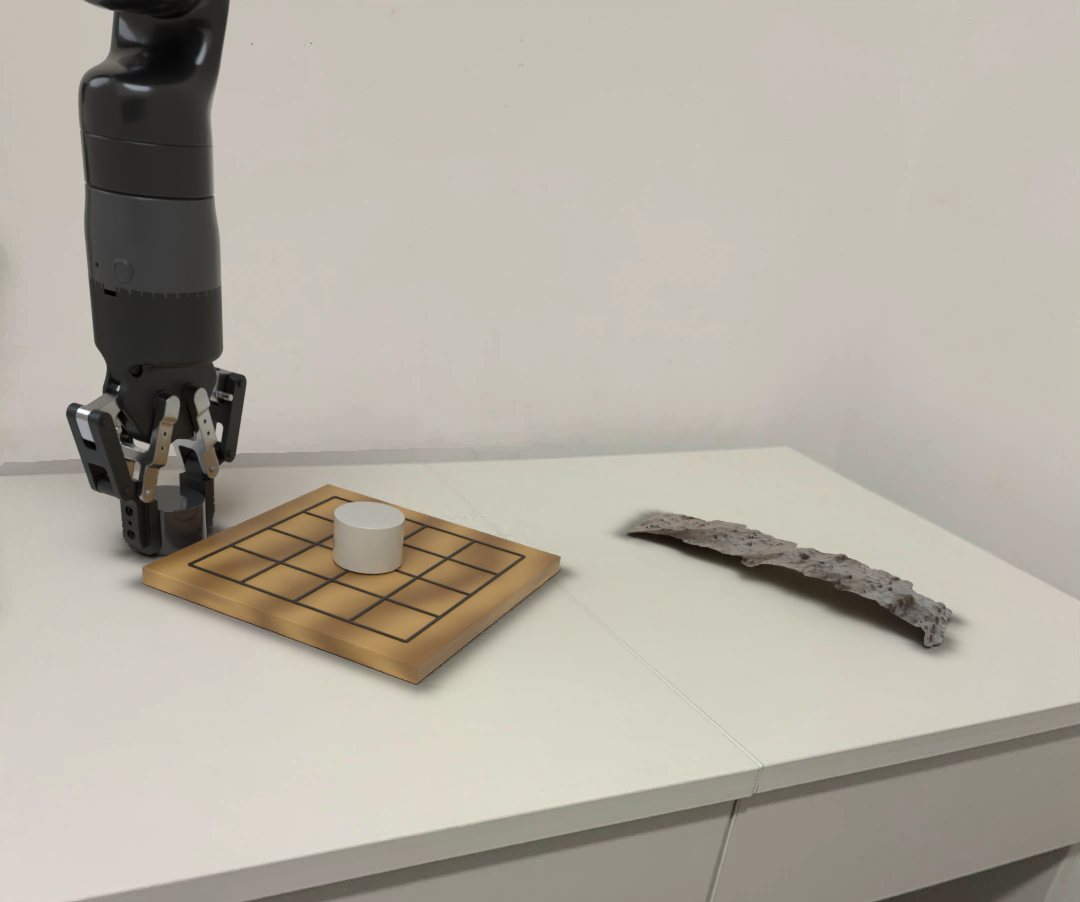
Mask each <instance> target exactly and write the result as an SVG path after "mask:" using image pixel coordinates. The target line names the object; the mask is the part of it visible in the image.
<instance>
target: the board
mask: <svg viewBox="0 0 1080 902" xmlns="http://www.w3.org/2000/svg"><path fill="white" fill-rule="evenodd" d="M351 502H376V503H382V504H386V505H389V506H392V507H394V508H396V509H398V510H400V511H401V512H402V513H403V514H404V516H405V527H404V542H403V557H402V564H401V566H400V567H399V568H397V569H395V570H393V571H391V572H387V573H380V574H365V573H358V572H353V571H349V570H347V569H344V568H342V567H340V566H339V565H337V564H336V563H335V561H334V560H333V532H334V511H335V509H336V508H337V507H339V506H341V505H343V504H346V503H351ZM561 558H562V557H561V555H558V554H554V553H551V552H547V551H544V550H541V549H538V548H534V547H532V546H529V545H525V544H522V543H519V542H516V541H512V540H509V539H506V538H502V537H499V536H496V535H493V534H490V533H487V532H483V531H480V530H477V529H474V528H471V527H467V526H464V525H461V524H458V523H456V522H455V523H454V522H452V521H448V520H446V519H442V518H438V517H435V516H433V515H429V514H426V513H423V512H420V511H416V510H414V509H410V508H406V507H403V506H400V505H397V504H394V503H390V502H387V501H384V500H381V499H378V498H375V497H371V496H368V495H365V494H362V493H359V492H355V491H353V490H349V489H346V488H342V487H339V486H337V485H333V484H329V483H327V484H325V485H323V486H321V487H318V488H316V489H314V490H311V491H310V492H307V493H305V494H303V495H300V496H298V497H296V498H293V499H291V500H289V501H287V502H284V503H282V504H280V505H278V506H276V507H273V508H270V509H268V510H267V511H264V512H261V513H260V514H258V515H255V516H253V517H251V518H248V519H247V520H244V521H241V522H240V523H237V524H235V525H233V526H231V527H228V528H226V529H223V530H222V531H219V532H217V533H215V534H213V535H211V536H207V538H206V539H204V540H201V541H199V542H197V543H195V544H192V545H190V546H188V547H186V548H183V549H181V550H179V551H177V552H174V553H172V554H170V555H168V556H167V555H164V556H163V557H161V558H159V559H157V560H155V561H152V562H150V563H147V564H145V565H142V566H141V570H142V583H143V584H144V585H146V586H149V587H151V588H154V589H157V590H160V591H162V592H165V593H168V594H170V595H173V596H175V597H179V598H181V599H184V600H186V601H190V602H192V603H195V604H198V605H200V606H203V607H206V608H208V609H211V610H214V611H216V612H219V613H222V614H224V615H227V616H230V617H232V618H235V619H239V620H241V621H244V622H246V623H249V624H252V625H255V626H257V627H260V628H263V629H266V630H268V631H271V632H272V633H276V634H279V635H282V636H285V637H287V638H290V639H292V640H295V641H298V642H300V643H303V644H307V645H309V646H311V647H315V648H316V649H320V650H322V651H324V652H328V653H331V654H333V655H336V656H339V657H342V658H344V659H347V660H349V661H352V662H355V663H358V664H359V665H360V664H361V665H363V666H366V667H369V668H371V669H374V670H376V671H380V672H382V673H385V674H388V675H391V676H393V677H395V678H399V679H401V680H403V681H405V682H409V683H412V684H415V685H417V684H419V683H420V682H421V681H422V680H423V679H425V678H426V677H428V675H430V674H431V673H432V672H434V670H436V669H437V668H438V667H440V666H441V665H442V664H444V663H445V662H446V661H448V659H450V658H451V657H453V656H454V655H455V654H456V653H458V651H460V650H462V649H463V648H464V647H465V646H466V645H468V644H469V643H470V642H471V641H473V640H474V639H475V638H476V637H478V636H479V635H480V634H481V633H483V632H484V631H485V630H487V629H488V628H489V627H490V626H491V625H493V624H494V623H495V622H496V621H498V620H499V619H501V618H502V617H503V616H504V615H506V613H508V612H509V611H511V610H512V609H513V608H514V607H515V606H516V605H518V604H519V603H520V602H522V601H523V600H524V599H525V598H527V597H528V596H529V595H531V594H532V593H533V592H534V591H536V590H537V589H538V588H539V587H541V586H542V585H543V584H544V583H546V582H547V581H548V580H549V579H551V578H552V577H553V576H555V575H556V574H557V573H558V572H559V571H560V565H561V560H562V559H561Z"/></svg>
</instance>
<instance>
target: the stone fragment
mask: <svg viewBox="0 0 1080 902" xmlns="http://www.w3.org/2000/svg"><path fill="white" fill-rule="evenodd" d="M630 533H647V534H648V533H649V534H654V535H662V536H670V537H672V538H675V539H679V540H682V542H683V543H685V544H689V545H693V546H698V547H701V548H703V547H705V548H710V549H711V550H714V551H717V552H718V553H720V554H725V555H730V556H737V557H738V556H739V557H741V558H742V559H741V561H740V563H741V564H742V565H744V566H746V567H750V568H753V567H756V566H760V565H773V566H780V567H785V568H787V569H791V570H795V571H797V572H798V573H802V575H803V576H804V577H809V578H815V579H819V580H822V581H828V582H830V583H835V584H834V588H835V589H836V590H838V591H841V592H843V591H847V592H851V593H854V594H856V595H857V594H858V595H859V596H861V597H863V598H866V599H869V600H873V601H876V603H878V604H879V606H880V607H883V608H885V609H887V610H888V612H889V613H890V614H892V615H895V616H897V618H899V619H901V620H904V621H905V622H907V623H908V624H910V625H912V626H914V627H917V628H921V629H922V631H923V632H924V636H923V645H924V646H925V647H926V648H927V647H929V648H932V647H934V646H938V645H940V644H942V642H943V641H944V640H943V639H944V635H945V631H946V628H947V623H948V618H949V619H951V616H952V618H953V615H954V614H953V610H952V609H950V608H948V607H947V606H946V604H945V603H944V602H942V601H935V600H934V599H932V598H930V597H927V596H925V595H923V594H921V593H918V592H917V591H915V590H914V589H913V587H914V583H913V582H912V581H910V580H908V579H902V578H900V577H899V576H896V575H894V574H891V573H889V572H888V571H886V570H883V569H876V568H870V566H869V565H867V564H866V563H862V562H861V561H859V560H857V559H855V558H852V557H848V556H847V554H845V553H827V552H821V551H820V550H817V549H816V548H813V547H798V545H799V543H796V542H794V541H791V540H785V539H781V538H777V537H774V536H773V535H771V534H767V533H763V532H761V531H760V530H758V529H751V528H748V526H747V525H746V524H744V523H738V522H733V521H726V520H725V521H724V520H720V519H713V520H711V521H710V520H709V521H707V520H704V519H702V518H699V517H694V516H691V515H686V514H684V513H683V514H681V513H673V512H664V513H655V514H654V515H652V516H650V517H649V518H646V519H644V520H642V522H641V523H640V524H639V525H638V526H637V525H636V526H634V527H633V528H632V529H630V530H629V531H627V532H626V534H630Z"/></svg>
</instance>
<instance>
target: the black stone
mask: <svg viewBox="0 0 1080 902" xmlns="http://www.w3.org/2000/svg"><path fill="white" fill-rule="evenodd" d="M154 499H155V500H157V501H158V516H159V532H160V550H159V551H158V552H155V553H153V554H152V555H159V556H168V555H170V554H172V553H174V552H177V551H179V550H181V549H183V548H186V547H188V546H190V545H192V544H195V543H197V542H199V541H201V540H204V539H206V538H208V535H207V534H208V533H207V530H206V507H205V497H204V495H203V494H202V493H200V492H199V491H197V490H194V489H191V488H188V487H183V486H180V485H173V484H168V485H167V484H162V485H161V484H159V485H157V486H156V492H155V497H154Z"/></svg>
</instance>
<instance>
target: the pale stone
mask: <svg viewBox="0 0 1080 902" xmlns="http://www.w3.org/2000/svg"><path fill="white" fill-rule="evenodd" d="M404 527H405V516H404V514H403V513H402V512H401V511H400V510H398V509H396V508H394V507H392V506H389V505H386V504H382V503H376V502H351V503H346V504H343V505H341V506H339V507H337V508H336V509H335V511H334V532H333V560H334V561H335V563H336V564H337V565H339V566H340V567H342V568H344V569H347V570H349V571H353V572H358V573H365V574H380V573H387V572H391V571H393V570H395V569H397V568H399V567H400V566H401V564H402V557H403V542H404Z"/></svg>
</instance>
